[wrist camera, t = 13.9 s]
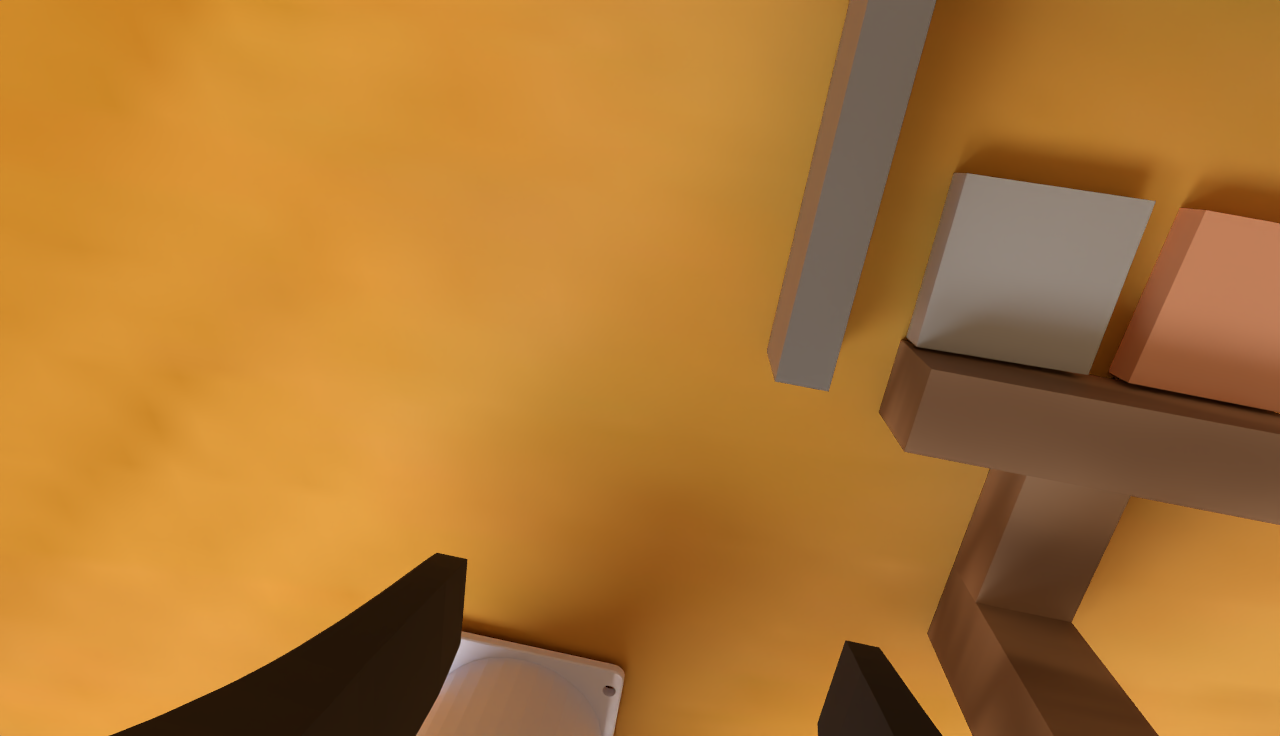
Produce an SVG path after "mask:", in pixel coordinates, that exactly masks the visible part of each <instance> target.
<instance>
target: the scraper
mask: <svg viewBox="0 0 1280 736" xmlns="http://www.w3.org/2000/svg"><path fill="white" fill-rule="evenodd" d="M879 413H880V415H881V416H882V418H883V419H884V421H885V423H886V424H887V426H888V427H889V429H890V430H891V432H892V433H893V435H894V437H895V438H896V440H897V441H898V443H899V444H900V446H901V447H902V449H903V450H904V452H908V453H914V454H919V455H924V456H929V457H934V458H939V459H944V460H949V461H955V462H960V463H965V464H970V465H975V466H980V467H985V468H990V471H989V473H988V476H987V479H986V481H985V484H984V486H983V489H982V492H981V494H980V497H979V500H978V502H977V505H976V507H975V510H974V513H973V515H972V518H971V521H970V523H969V526H968V528H967V531H966V534H965V536H964V539H963V541H962V544H961V547H960V549H959V552H958V555H957V557H956V560H955V562H954V565H953V568H952V570H951V573H950V576H949V578H948V581H947V583H946V586H945V589H944V591H943V594H942V597H941V599H940V602H939V604H938V607H937V610H936V612H935V615H934V617H933V620H932V623H931V625H930V628H929V631H928V633H927V634H928V637H929V639H930V641H931V643H932V646H933V648H934V650H935V652H936V655H937V657H938V659H939V661H940V664H941V666H942V668H943V670H944V673H945V675H946V677H947V679H948V681H949V684H950V686H951V688H952V690H953V693H954V695H955V697H956V699H957V702H958V704H959V706H960V708H961V711H962V713H963V715H964V717H965V720H966V722H967V724H968V726H969V729H970V731H971V733H972V735H973V736H1158V734H1157V733H1156V732H1155V730H1154V729H1153V728H1152V727H1151V725H1150V724H1149V723H1148V721H1147V720H1146V719H1145V717H1144V716H1143V715H1142V714H1141V712H1140V711H1139V710H1138V708H1137V707H1136V706H1135V704H1134V703H1133V702H1132V701H1131V699H1130V698H1129V697H1128V695H1127V694H1126V693H1125V691H1124V690H1123V689H1122V688H1121V686H1120V685H1119V684H1118V682H1117V681H1116V680H1115V678H1114V677H1113V676H1112V675H1111V673H1110V672H1109V671H1108V669H1107V668H1106V667H1105V665H1104V664H1103V663H1102V662H1101V660H1100V659H1099V658H1098V656H1097V655H1096V654H1095V652H1094V651H1093V650H1092V649H1091V647H1090V646H1089V645H1088V643H1087V642H1086V641H1085V639H1084V638H1083V637H1082V636H1081V634H1080V633H1079V632H1078V630H1077V629H1076V628H1075V626H1074V625H1073V624H1072V623H1071V622H1072V620H1073V618H1074V616H1075V613H1076V611H1077V609H1078V607H1079V605H1080V603H1081V601H1082V599H1083V596H1084V594H1085V592H1086V590H1087V588H1088V586H1089V584H1090V581H1091V579H1092V577H1093V575H1094V573H1095V571H1096V569H1097V567H1098V564H1099V562H1100V560H1101V558H1102V556H1103V554H1104V552H1105V550H1106V547H1107V545H1108V543H1109V541H1110V539H1111V537H1112V535H1113V532H1114V530H1115V528H1116V526H1117V524H1118V522H1119V520H1120V518H1121V515H1122V513H1123V511H1124V509H1125V507H1126V505H1127V503H1128V500H1129V498H1130V496H1134V497H1139V498H1144V499H1149V500H1154V501H1160V502H1165V503H1170V504H1175V505H1180V506H1185V507H1190V508H1195V509H1201V510H1206V511H1211V512H1216V513H1221V514H1226V515H1231V516H1236V517H1242V518H1247V519H1252V520H1257V521H1262V522H1267V523H1272V524H1277V525H1280V414H1278V413H1276V412H1274V411H1270V410H1265V409H1260V408H1254V407H1249V406H1244V405H1239V404H1234V403H1229V402H1224V401H1219V400H1214V399H1209V398H1204V397H1198V396H1193V395H1188V394H1183V393H1178V392H1173V391H1168V390H1163V389H1158V388H1153V387H1148V386H1143V385H1137V384H1132V383H1128V382H1126V381H1121V380H1115V379H1110V378H1104V377H1099V376H1094V375H1085V374H1079V373H1073V372H1067V371H1061V370H1055V369H1049V368H1043V367H1037V366H1031V365H1025V364H1019V363H1013V362H1007V361H1001V360H995V359H989V358H983V357H977V356H970V355H964V354H958V353H952V352H946V351H940V350H934V349H928V348H922V347H916V346H915V345H914V344H913V343H912V342H910V341H905V340H901V342H900V345H899V348H898V352H897V355H896V358H895V361H894V365H893V368H892V371H891V374H890V378H889V381H888V384H887V387H886V391H885V394H884V397H883V400H882V404H881V407H880V410H879Z"/></svg>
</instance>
